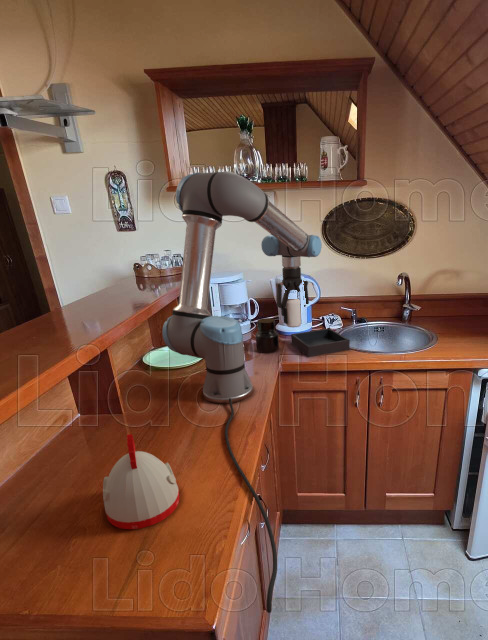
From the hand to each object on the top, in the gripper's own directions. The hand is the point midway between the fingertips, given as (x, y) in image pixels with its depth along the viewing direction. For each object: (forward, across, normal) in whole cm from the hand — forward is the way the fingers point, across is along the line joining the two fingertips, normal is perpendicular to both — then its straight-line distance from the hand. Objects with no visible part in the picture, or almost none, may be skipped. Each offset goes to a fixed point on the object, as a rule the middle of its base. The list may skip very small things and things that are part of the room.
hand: (293, 321), depth 180 cm
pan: (+6, -4, +18) cm, 19 cm away
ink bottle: (+6, +16, +12) cm, 21 cm away
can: (+2, 0, 0) cm, 2 cm away
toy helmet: (+6, +68, +89) cm, 112 cm away
